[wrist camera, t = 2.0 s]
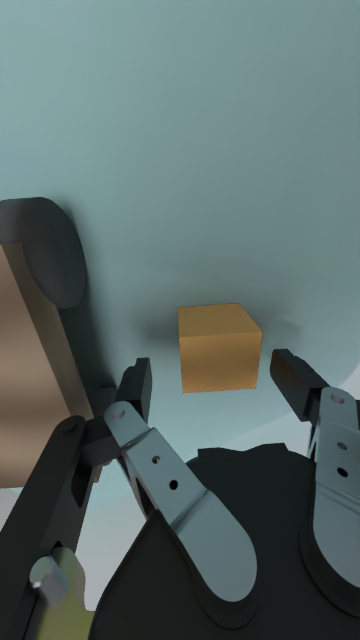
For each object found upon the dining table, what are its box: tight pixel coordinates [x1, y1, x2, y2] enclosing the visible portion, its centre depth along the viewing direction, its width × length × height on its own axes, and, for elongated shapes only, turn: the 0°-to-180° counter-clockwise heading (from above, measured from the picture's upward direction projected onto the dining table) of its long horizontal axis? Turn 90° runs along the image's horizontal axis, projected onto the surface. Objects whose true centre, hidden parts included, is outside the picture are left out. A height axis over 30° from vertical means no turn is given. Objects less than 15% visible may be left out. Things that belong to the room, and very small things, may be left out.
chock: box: [178, 303, 263, 393], centre depth 15 cm, size 5×4×5 cm
